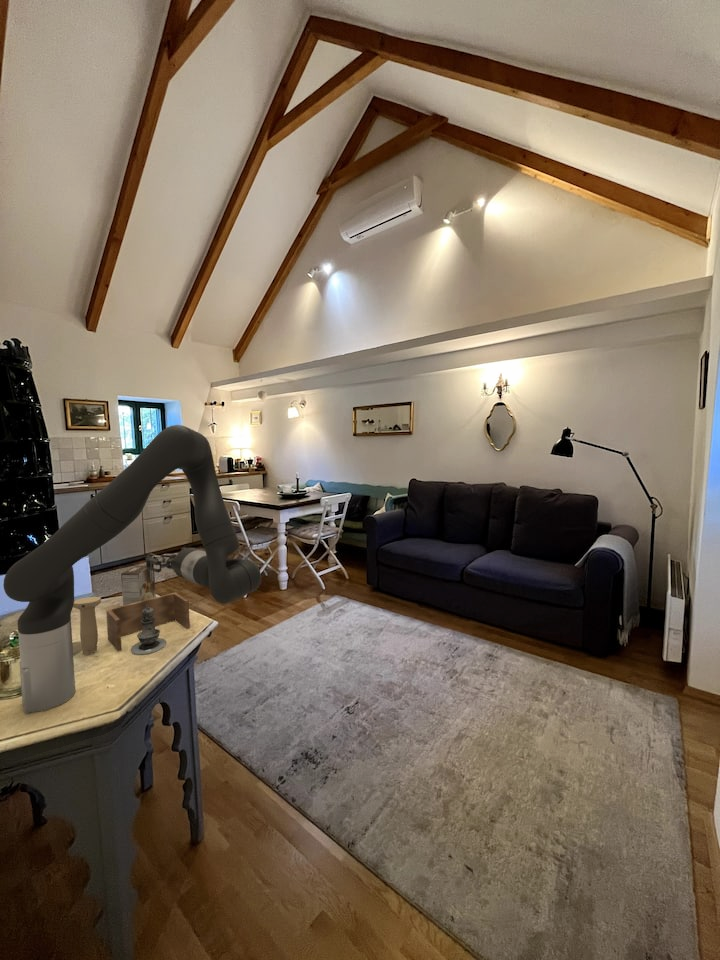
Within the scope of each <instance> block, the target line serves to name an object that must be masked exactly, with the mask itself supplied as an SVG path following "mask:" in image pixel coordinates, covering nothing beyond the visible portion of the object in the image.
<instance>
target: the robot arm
mask: <svg viewBox="0 0 720 960" xmlns="http://www.w3.org/2000/svg"><path fill="white" fill-rule="evenodd" d="M213 456H214V455H213V452H212V448H211V444H210V442H209V440H208V439H207V438H206V437H205V436H204V434H202V433H200V432H198V431H196V430H194V429H192V428H190V427H187V426H185V425H181V424H174V425H169V426H168V427H165V428H164V429H162V430H161V431H160V432H159V433H158V434H156V436H155V437H154V438H153V439H152V440H151V441H150V442H149V444H148V445H147V446H145V447H144V449H143V450H142V451H141V452H140V453H139V455H138V456H137V457H136V458H135V459H134V460H133V461H132V462H131V463H130V464H129V465H128V466H127V467H126V468H124V469H123V470H122V471H121V472H120V473H119V474H118V475H117V476H115V477H114V478H113V479H112V481H111V482H109V483H108V484H107V485H106V486H104V487H103V488H102V489H101V490H99V492H97V493H96V494H95V495H93V496H92V498H91V499H89V500H88V501H87V502H86V503H85V504H84V505H83V506H82V507H81V508H80V509H79V510H78V511H77V512H76V513H75V514H73V515H72V516H71V517H70V518H69V519H67V521H66V522H64V524H63V525H62V526H61V527H59V528H58V530H57V531H55V533H54V534H52V536H50V537H49V538H48V539H47V540H46V541H45V542H43V543H41V545H39V546H38V547H37V548H34V550H31V551H30V552H29V553H28V554H27V555H25V556H23V557H22V558H21V559H19V560H18V561H16V562H14V564H12V565H11V567H9V569H8V570H7V571H6V574H5V576H4V579H3V586H2V587H3V589H4V592H5V595H6V596H7V597H8V598H9V599H11V600H13V601H16V602H20V603H28V604H27V606H26V607H25V609H24V611H23V612H22V613H21V614H20V616H19V617H18V619H17V633H18V634H17V635H18V648H19V649H18V651H19V676H20V686H21V687H20V688H21V699H22V700H21V702H22V705H23V710H24V713H25V714H29V713H33V712H34V713H35V712H41V711H46V710H49V709H53V708H56V707H57V706H60V705H62V704H63V703H66V702H67V701H68V700H70V699H71V698H72V697H73V696H75V693H76V678H75V677H76V676H75V663H74V646H73V645H74V644H73V632H72V631H73V630H72V617H71V616H72V610H73V609H74V607H73V605H74V601H75V575H74V574H75V573H74V567H73V566H74V565H75V564H76V563H78V562H79V561H80V560H82V559H84V557H85V558H86V556H88V555H89V554H91V553H93V552H94V551H96V550H97V549H99V548H101V547H102V546H104V545H105V544H107V543H108V542H110V541H111V540H113V539H114V538H115V537H118V535H119V534H121V533H122V532H123V531H124V530H125V529H126V528H128V526H130V525H131V524H132V523H133V522H134V521H135V520H136V519H137V518H138V517H139V516H140V514H141V513H142V512H143V510H144V508H145V506H146V504H147V501H148V500H149V497H150V495H151V493H152V492H153V490H154V489H155V487H157V485H158V484H160V483H161V482H162V481H163V480H164V479H165V478H166V477H168V476H169V475H170V474H171V473H173V472H174V471H176V470H178V469H179V470H181V471H182V472H183V474H184V476H185V477H186V479H187V481H188V483H189V485H190V489H191V491H192V496H193V502H194V503H193V505H194V506H193V507H194V519H195V521H194V522H195V526H196V530H197V533H198V535H199V538H200V540H201V543H202V546H203V548H202V547H197V548H196V547H181V548H180V551H179V552H175V553H164V554H161V555H157V554H154V553H153V552H150V553H148V554H147V555H146V557H145V566H146V568H147V569H150V570H152V571H154V573H155V572H156V573H160V572H162V569H165V570H167V569H168V570H173V572H174V573H175V574H176V576H177V577H179V578H181V579H184V580H185V581H188V582H191V583H192V584H195V585H200V586H201V587H204V588H206V589H209V592H210V594H211V597H213V599H214V600H215V601H216V602H218V603H220V604H222V605H226V604H230V603H232V602H235V601H237V600H238V599H241V598H243V597H245V596H247V595H249V594H251V593H253V592H255V591H256V590H257V589H258V588H259V587H260V585H261V583H262V572H261V571H260V568H259V567H258V566H257V565H256V564H255V563H254V562H252V561H251V560H248V559H244V558H227V557H230V555H232V554H234V553H235V552H236V551H237V550H239V549H240V541H239V537H238V535H237V533H236V530H235V527H234V525H233V523H232V520H231V518H230V515H229V513H228V510H227V508H226V507H227V506H226V504H225V502H224V499H223V494H222V492H221V488H220V485H219V480H218V475H217V472H216V468H215V463H214V457H213Z"/></svg>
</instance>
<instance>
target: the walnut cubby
mask: <svg viewBox="0 0 720 960" xmlns="http://www.w3.org/2000/svg"><path fill="white" fill-rule="evenodd" d="M147 605H148V607H151V608H153V613H154V618H155V621H154V626H155V627H157V625H158V626H161V625H163V624H167V622H168V623H171V622H174V621H175V620H176V621H175V622H177V623H178V624H179V625H181V626H182V627H183V628H184V629H186V630H188V629H190V628H191V626H190V624H191V622H190V621H191V620H190V603H189V600H188V599H187V598H185V597H184V596H182V595H181V594H179V593H178V592H176V591H175V592H172V593H168V594H163V595H160V596H156V597H155V598H151V599H147V600H143V601H139V602H135V603H132V604H128V605H124V606H123V605H121V606H117V607H112V608H109V609H106V610H105V611H106V629H107V631H106V632H107V640H108V641H109V643H110V644H111V645H112V646H113V647H114V649H115V650H116V651H117V652H121V651H123V650H122V637H125V636H128V635H130V634H134V632H135V633H137V632H138V633H139V632H142V629H143V628H142V623H141V621H142V611H143V609H145V608H146V606H147ZM170 621H171V622H170ZM160 624H161V625H160Z"/></svg>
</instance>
